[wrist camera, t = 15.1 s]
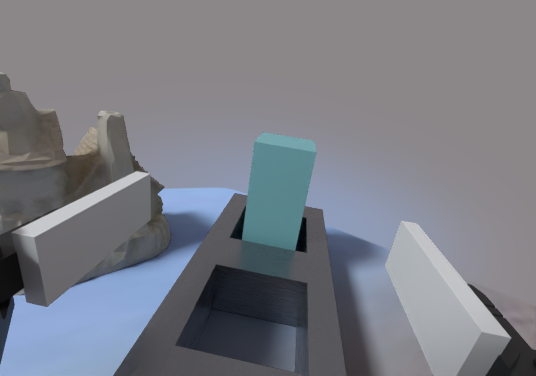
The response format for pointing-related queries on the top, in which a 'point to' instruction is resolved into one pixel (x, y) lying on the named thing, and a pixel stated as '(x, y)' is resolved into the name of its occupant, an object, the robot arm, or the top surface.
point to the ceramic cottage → (68, 174)
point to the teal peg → (278, 190)
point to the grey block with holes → (246, 302)
